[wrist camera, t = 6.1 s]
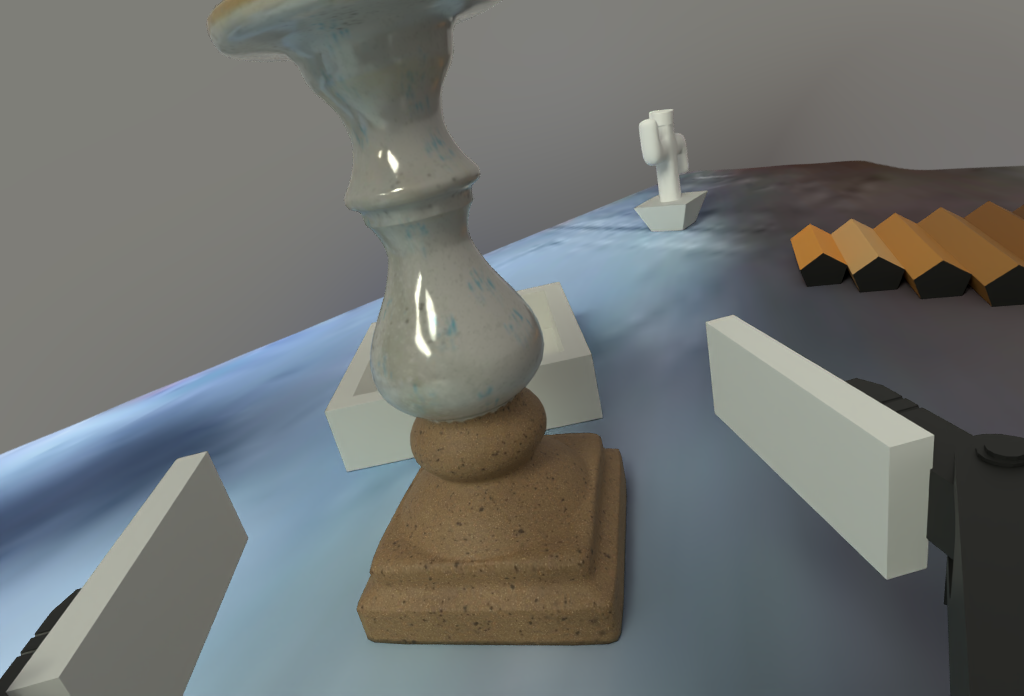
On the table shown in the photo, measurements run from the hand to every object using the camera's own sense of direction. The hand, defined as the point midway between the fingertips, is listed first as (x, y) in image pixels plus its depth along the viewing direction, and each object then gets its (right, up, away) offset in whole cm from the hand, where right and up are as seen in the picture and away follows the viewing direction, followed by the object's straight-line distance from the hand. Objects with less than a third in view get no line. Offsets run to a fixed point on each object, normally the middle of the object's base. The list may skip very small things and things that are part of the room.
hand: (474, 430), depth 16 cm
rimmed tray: (-2, -1, +31) cm, 31 cm away
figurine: (+23, +18, +66) cm, 72 cm away
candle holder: (+1, -8, +13) cm, 16 cm away
